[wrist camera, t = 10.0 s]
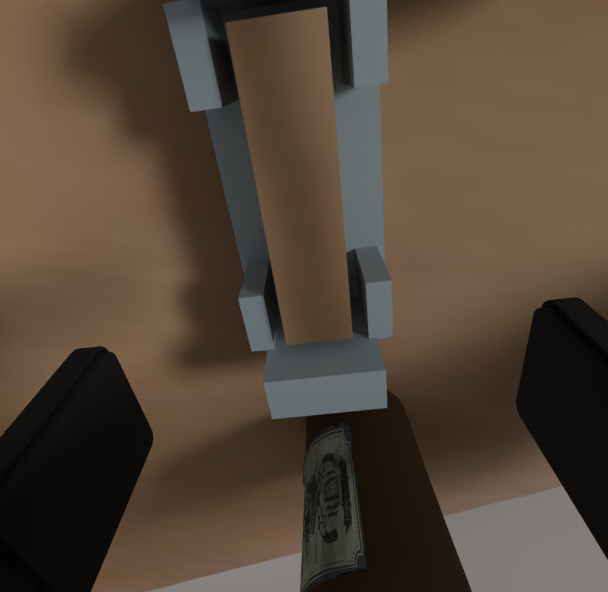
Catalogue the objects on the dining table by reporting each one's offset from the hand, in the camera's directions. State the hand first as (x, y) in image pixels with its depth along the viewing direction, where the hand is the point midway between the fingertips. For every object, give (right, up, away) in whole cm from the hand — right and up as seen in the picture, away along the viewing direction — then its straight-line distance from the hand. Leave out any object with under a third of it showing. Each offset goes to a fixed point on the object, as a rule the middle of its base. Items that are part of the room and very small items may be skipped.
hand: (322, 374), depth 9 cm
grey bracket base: (-1, +10, +16) cm, 19 cm away
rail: (-1, +9, +15) cm, 18 cm away
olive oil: (+4, -10, +28) cm, 30 cm away
